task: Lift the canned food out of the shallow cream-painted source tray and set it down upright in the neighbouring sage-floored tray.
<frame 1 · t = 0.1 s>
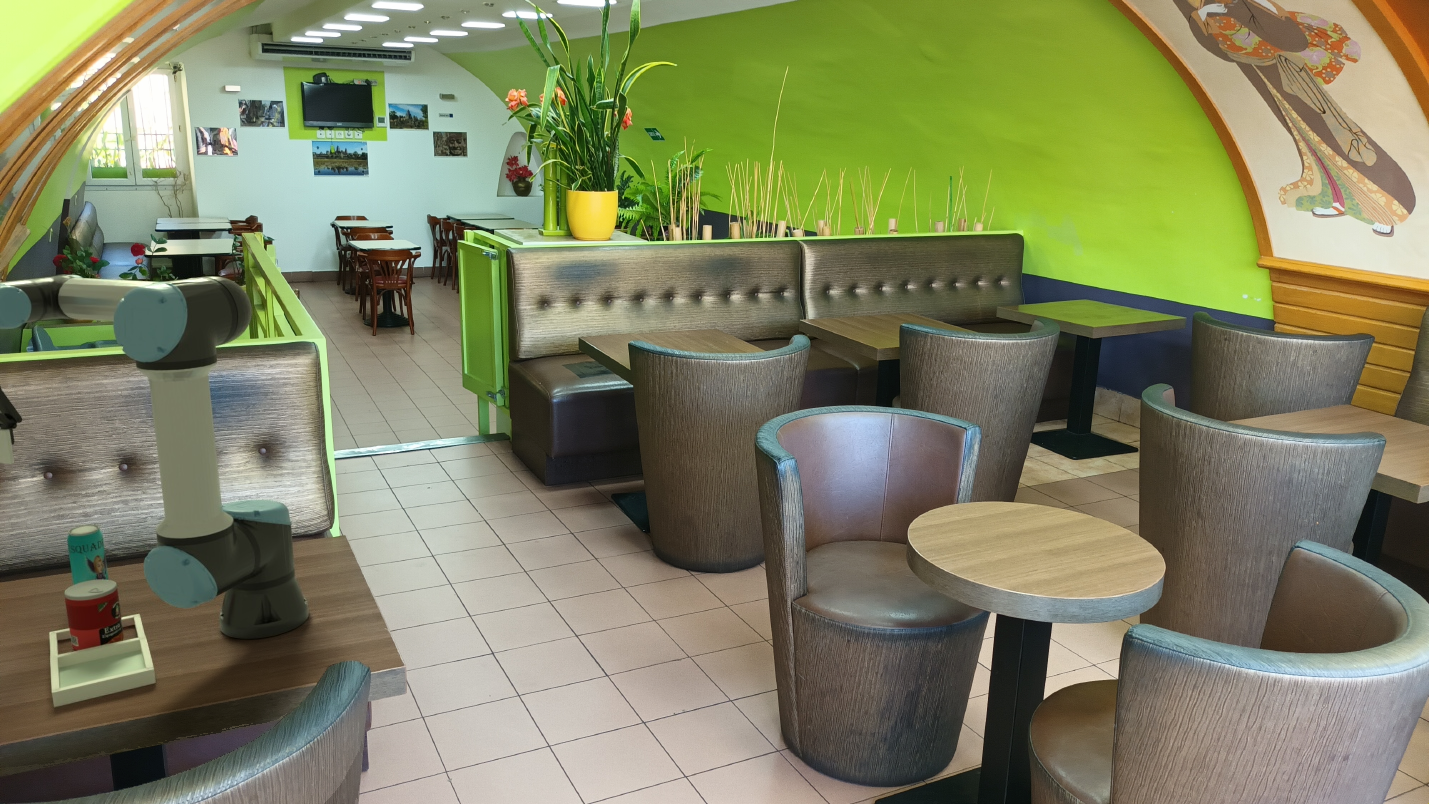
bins: (101, 660, 170), on the table
canned food: (98, 646, 175), resting in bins
beverage can: (94, 603, 192), on the table
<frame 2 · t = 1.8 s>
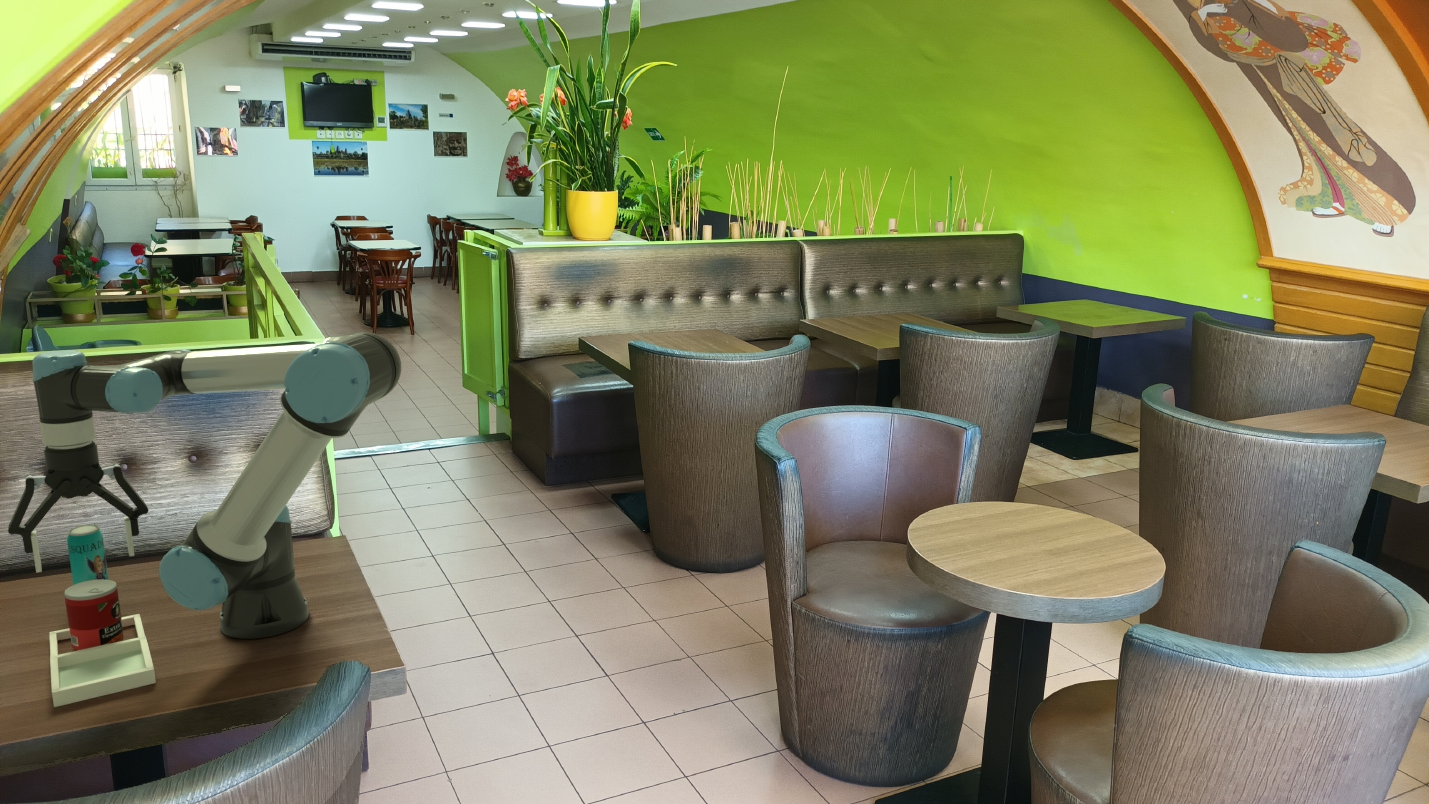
hand: (86, 561, 172), 16 cm above the table, tool pointing down, fingers open, 13 cm apart
nothing on the table moved.
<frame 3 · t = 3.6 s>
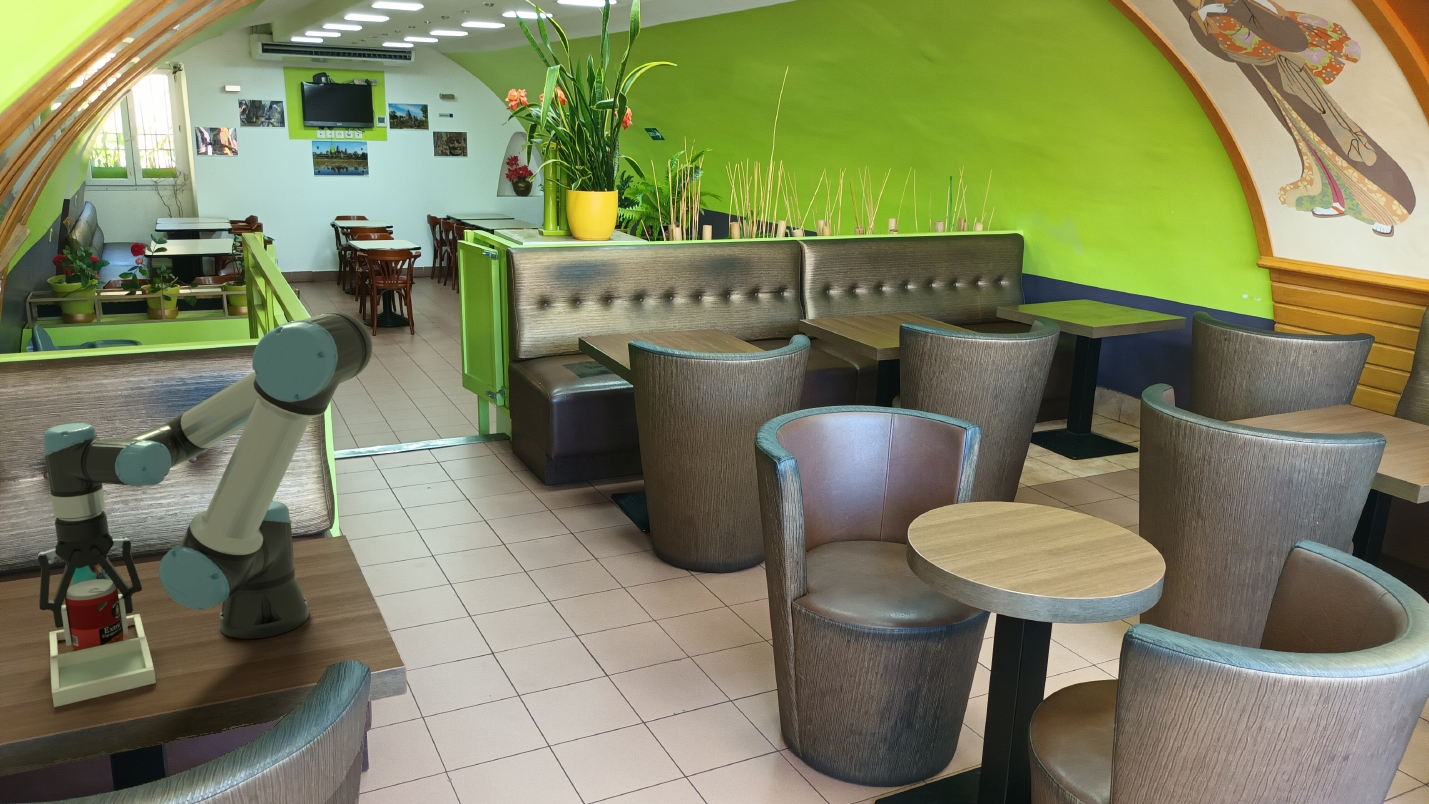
hand: (97, 636, 175), 2 cm above the table, tool pointing down, fingers closed on canned food, 8 cm apart
canned food: (98, 646, 175), resting in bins, touching gripper
everything else where it was.
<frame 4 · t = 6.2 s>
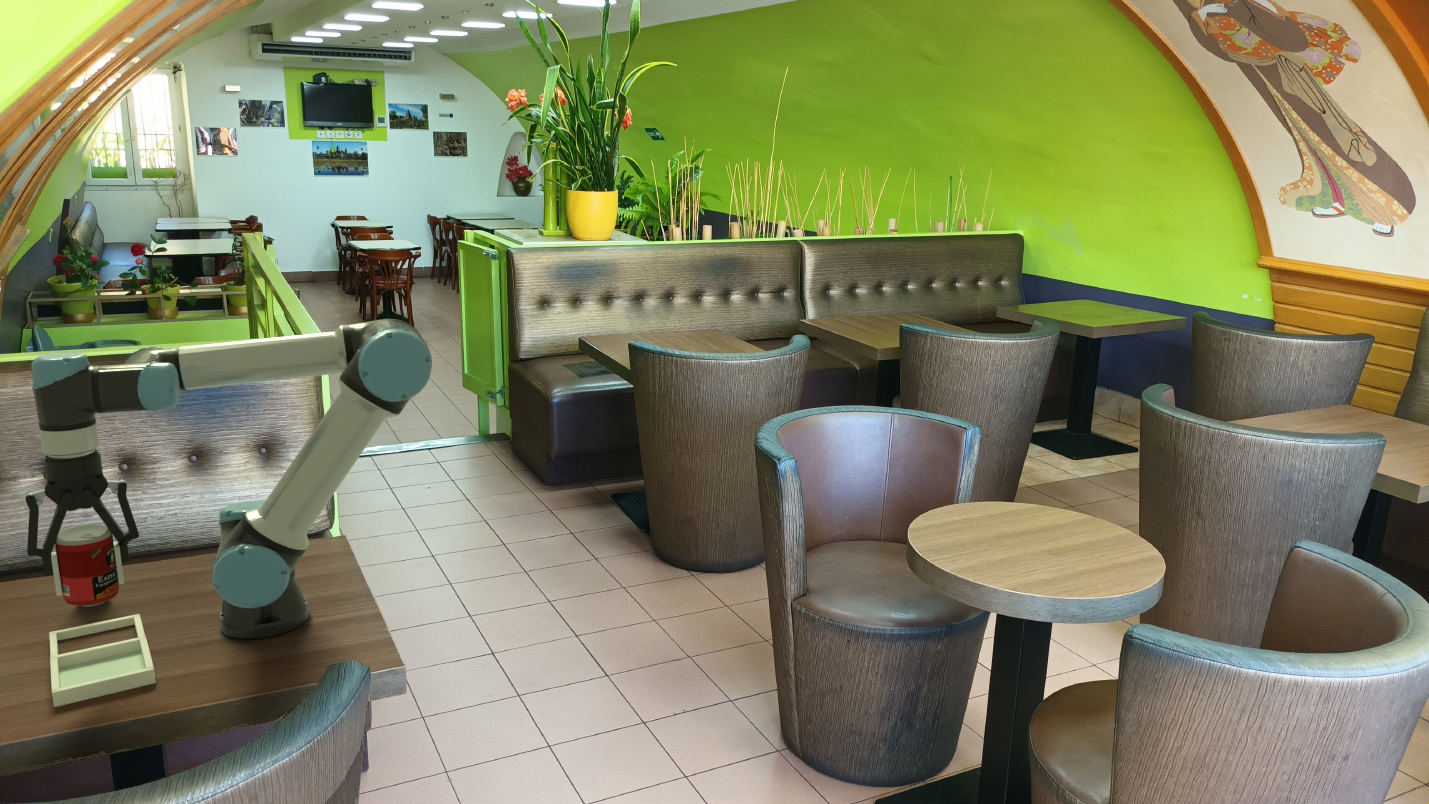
hand: (90, 586, 161), 16 cm above the table, tool pointing down, fingers closed on canned food, 8 cm apart
canned food: (92, 597, 162), point 14 cm above the table, touching gripper
everything else where it was.
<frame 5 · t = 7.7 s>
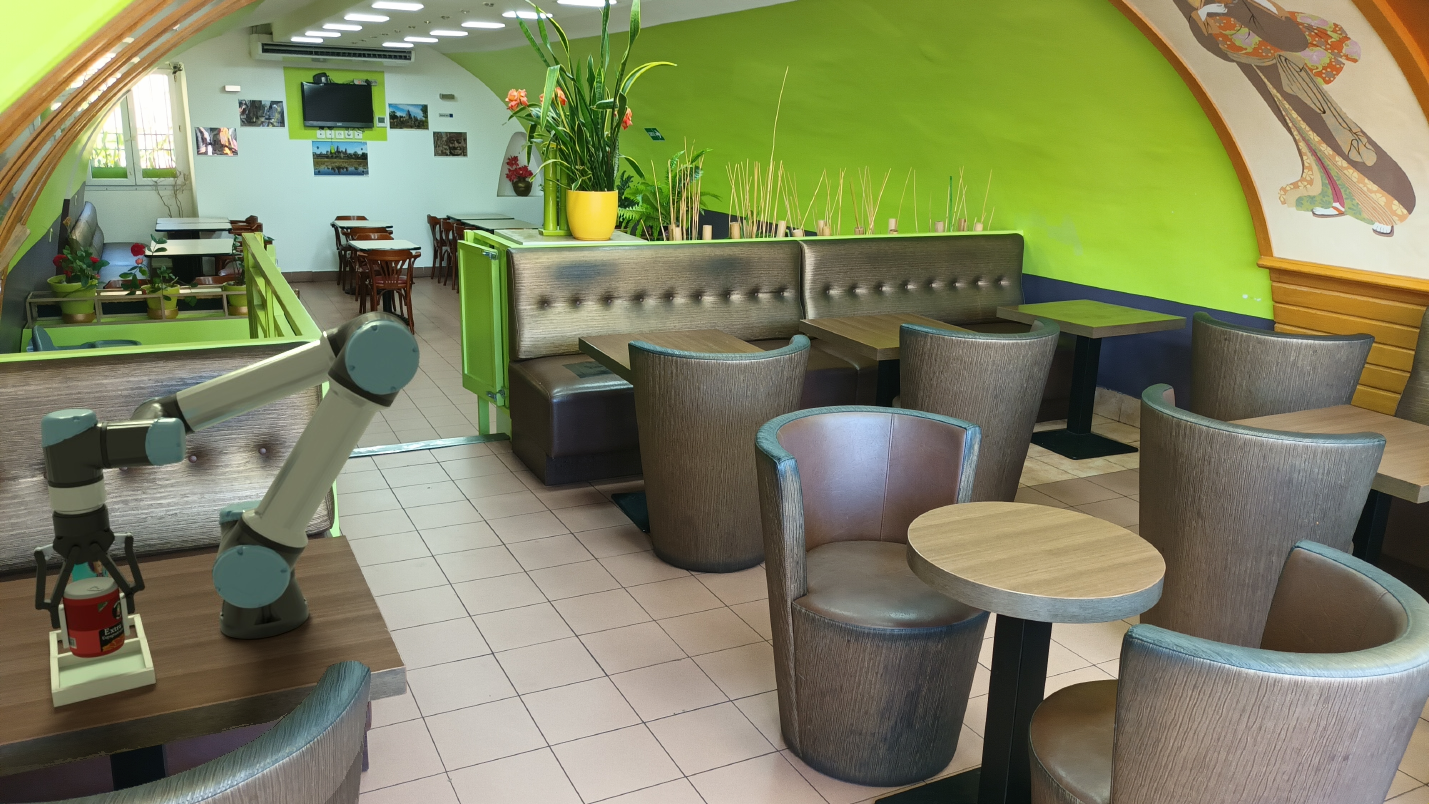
hand: (97, 638, 163), 7 cm above the table, tool pointing down, fingers closed on canned food, 8 cm apart
canned food: (98, 649, 164), point 5 cm above the table, touching gripper
everything else where it was.
when the fingers open (4 cm above the table, at t = 8.8 s): canned food drops 2 cm, resting on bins.
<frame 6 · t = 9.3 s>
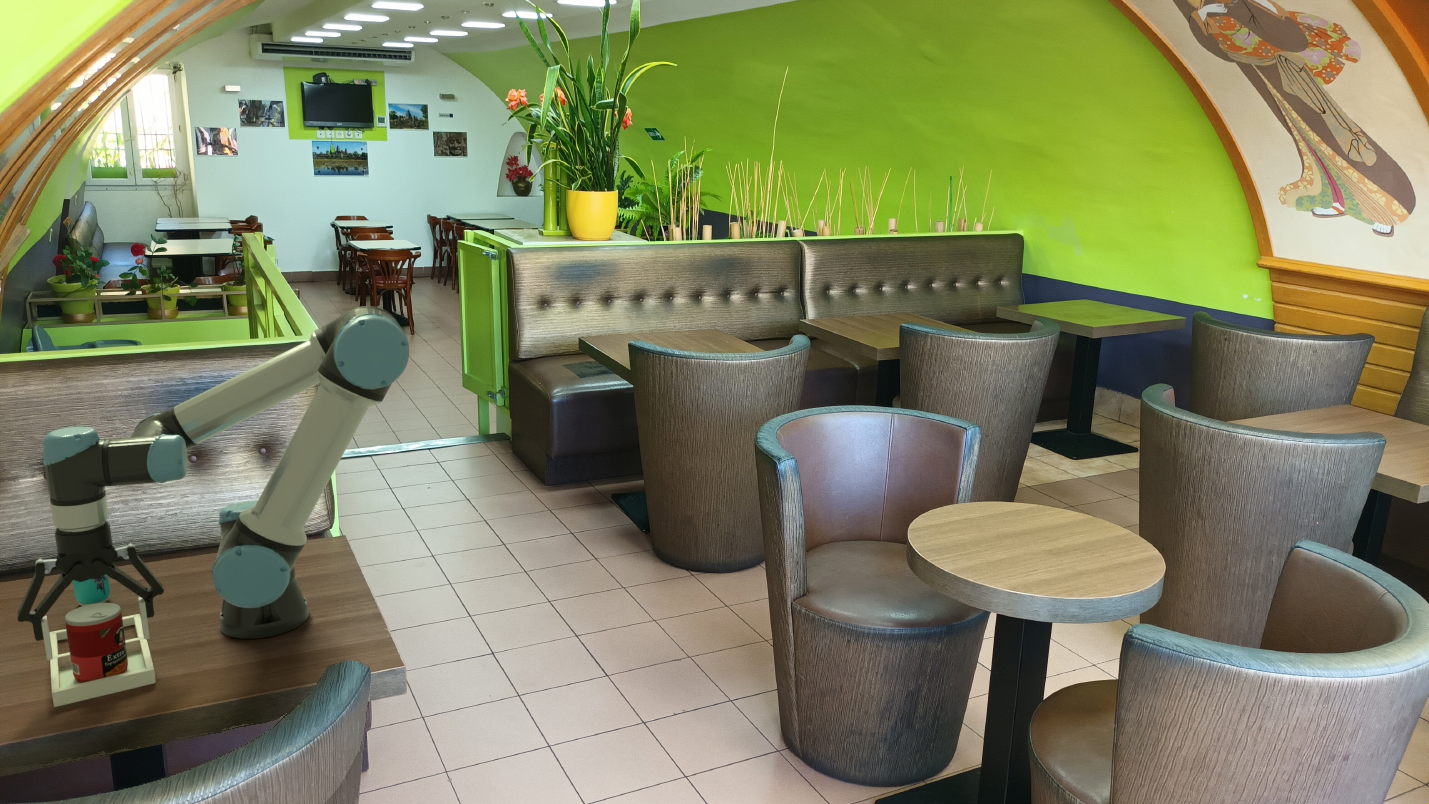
hand: (99, 646, 163), 5 cm above the table, tool pointing down, fingers open, 13 cm apart
canned food: (101, 674, 164), resting on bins
everything else where it was.
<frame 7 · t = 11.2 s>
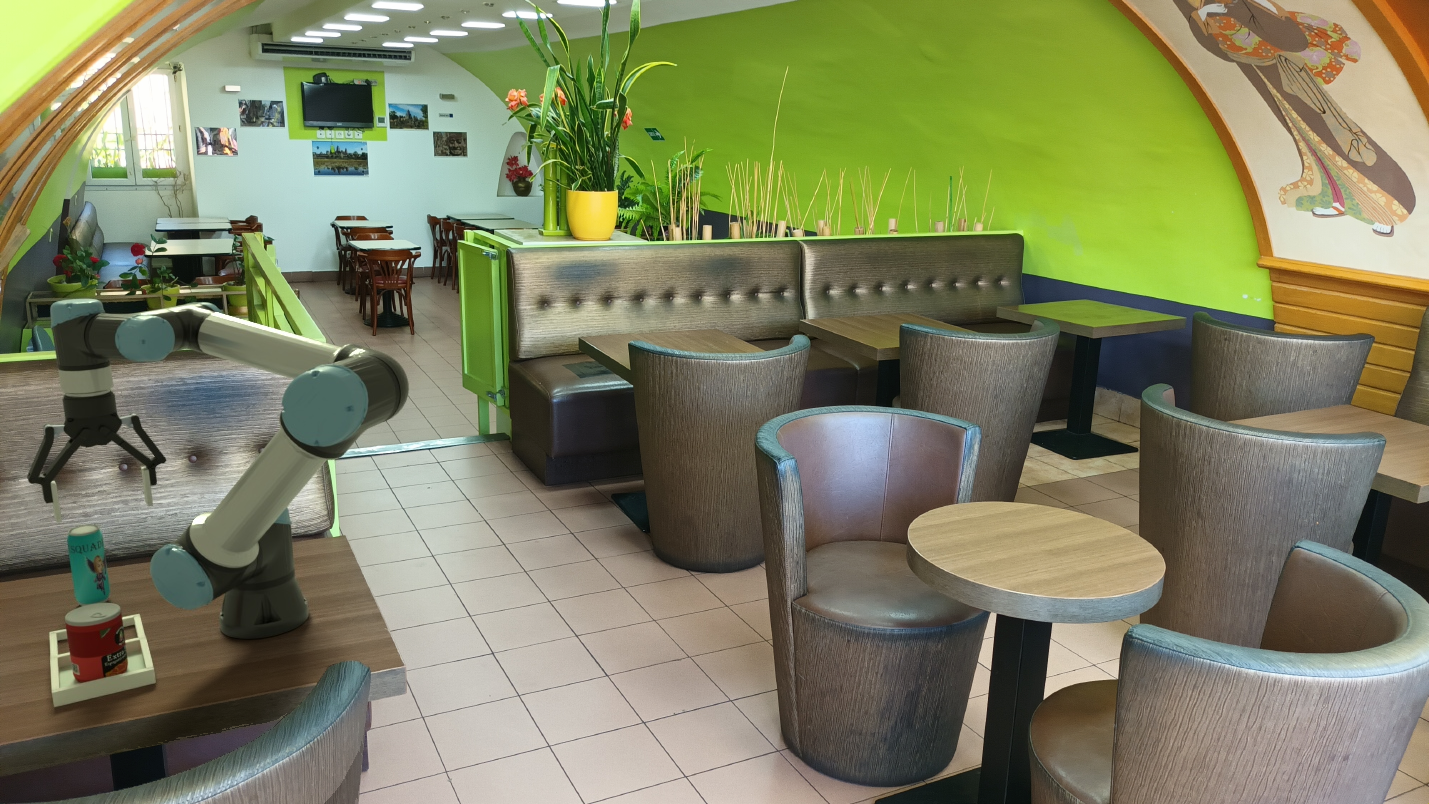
hand: (104, 511, 172), 24 cm above the table, tool pointing down, fingers open, 13 cm apart
nothing on the table moved.
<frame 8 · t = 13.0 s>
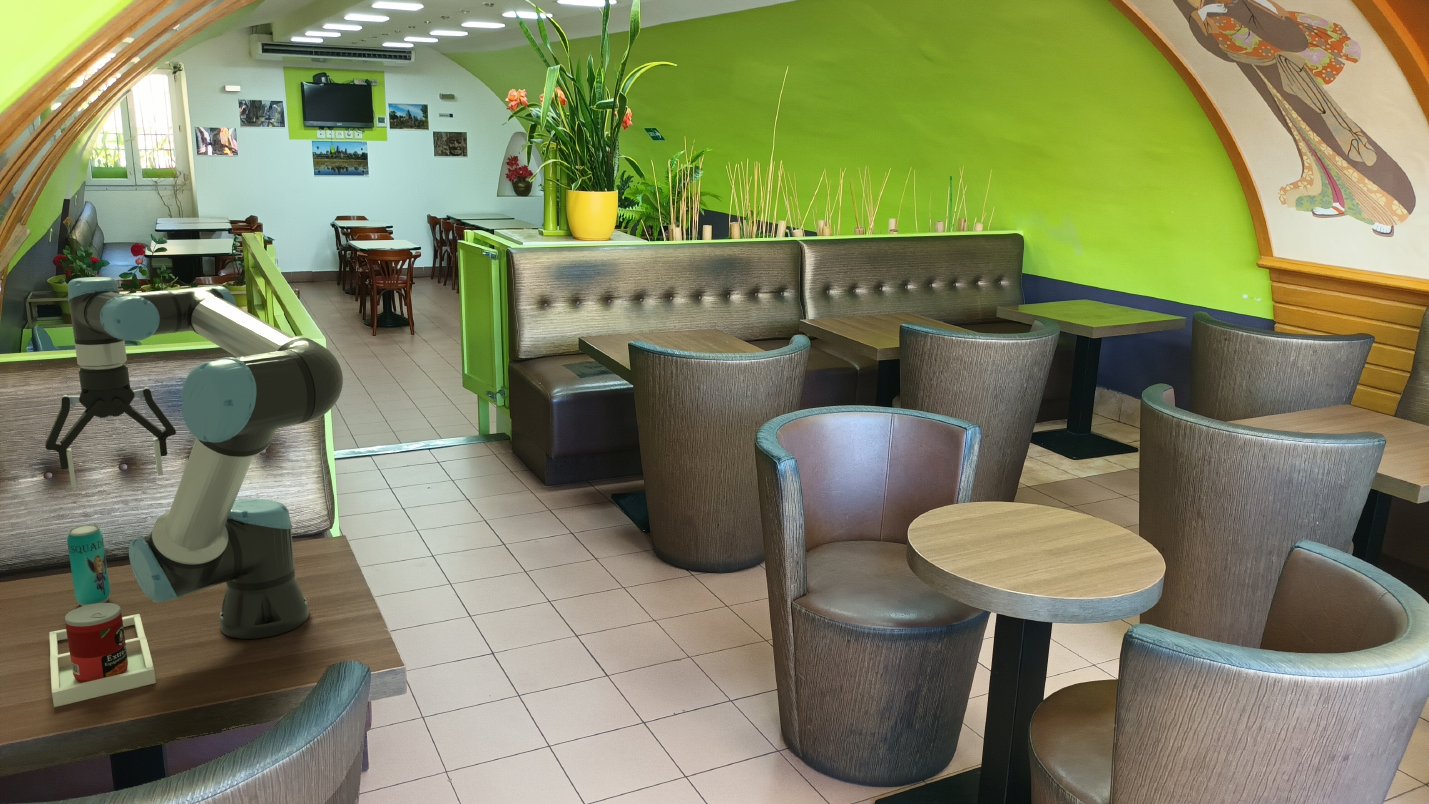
hand: (117, 479, 181), 27 cm above the table, tool pointing down, fingers open, 13 cm apart
nothing on the table moved.
at the end: canned food inside the target area on the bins (0.2 cm from its centre), point 0.4 cm above the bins's base; canned food tilted 0°; the gripper is holding nothing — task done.
